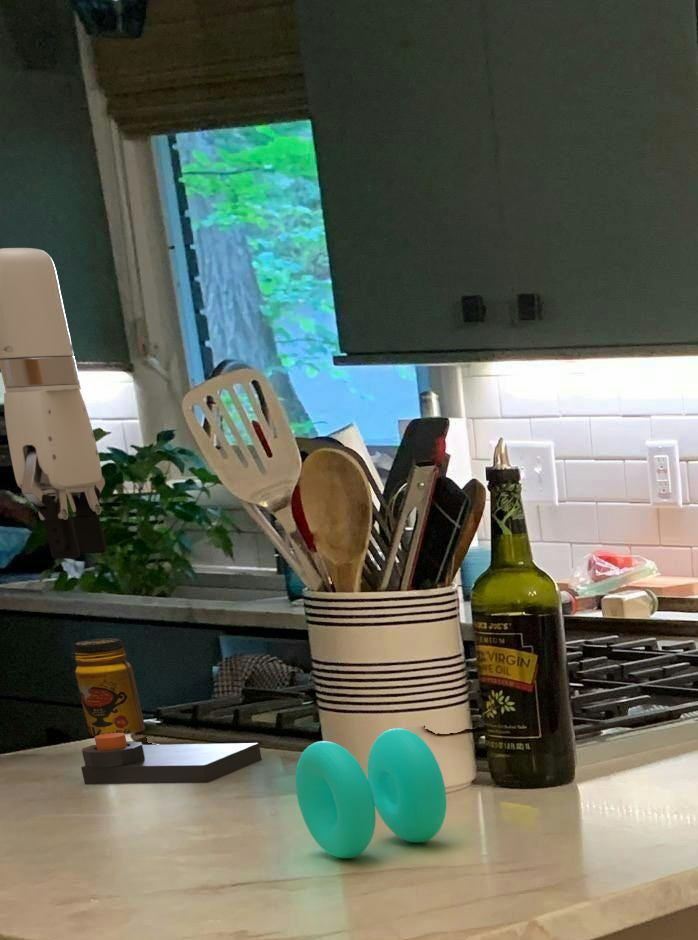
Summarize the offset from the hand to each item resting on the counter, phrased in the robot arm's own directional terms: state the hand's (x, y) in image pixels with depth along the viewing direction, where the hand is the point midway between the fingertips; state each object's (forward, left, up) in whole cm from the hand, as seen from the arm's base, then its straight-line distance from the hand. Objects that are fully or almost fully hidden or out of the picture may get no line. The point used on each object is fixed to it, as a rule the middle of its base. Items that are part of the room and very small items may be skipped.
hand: (79, 553), depth 215 cm
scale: (+15, -15, -21) cm, 30 cm away
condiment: (0, 0, -22) cm, 22 cm away
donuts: (+54, -50, -22) cm, 77 cm away
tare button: (+10, -18, -18) cm, 28 cm away
